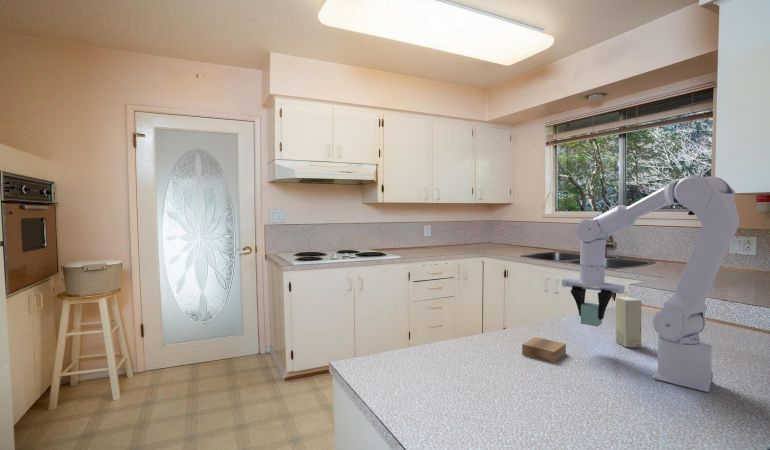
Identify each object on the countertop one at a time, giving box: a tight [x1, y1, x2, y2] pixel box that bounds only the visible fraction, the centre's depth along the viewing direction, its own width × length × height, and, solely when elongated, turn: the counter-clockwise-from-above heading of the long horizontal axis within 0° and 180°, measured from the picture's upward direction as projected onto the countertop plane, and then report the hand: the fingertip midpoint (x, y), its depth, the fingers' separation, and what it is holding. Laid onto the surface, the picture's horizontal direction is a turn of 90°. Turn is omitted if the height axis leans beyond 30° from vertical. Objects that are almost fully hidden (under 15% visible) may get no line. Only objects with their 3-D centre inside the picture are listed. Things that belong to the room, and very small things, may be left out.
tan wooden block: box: [521, 336, 567, 363], centre depth 99 cm, size 8×8×3 cm
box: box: [615, 296, 642, 348], centre depth 106 cm, size 5×4×13 cm
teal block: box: [580, 301, 603, 328], centre depth 102 cm, size 4×4×5 cm
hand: (591, 317), depth 102 cm, fingers closed on teal block, 4 cm apart
